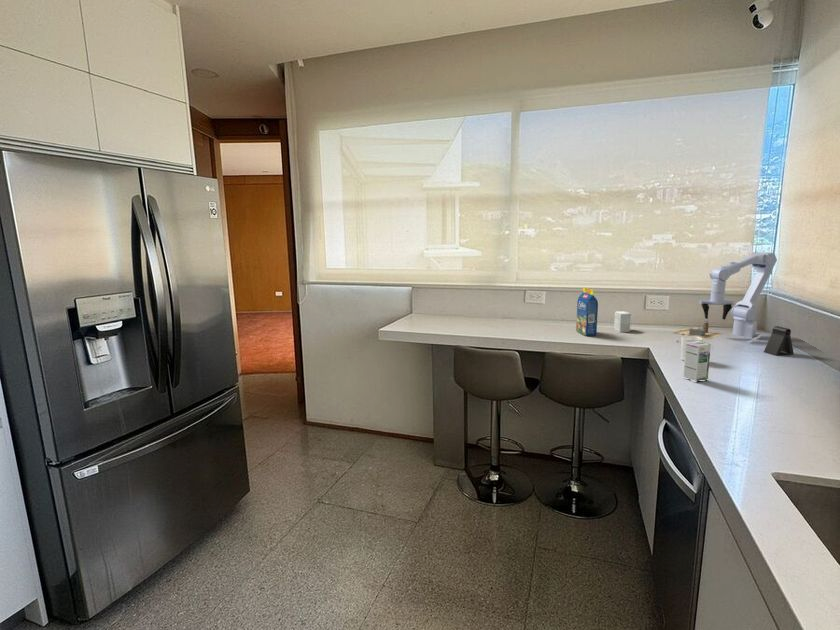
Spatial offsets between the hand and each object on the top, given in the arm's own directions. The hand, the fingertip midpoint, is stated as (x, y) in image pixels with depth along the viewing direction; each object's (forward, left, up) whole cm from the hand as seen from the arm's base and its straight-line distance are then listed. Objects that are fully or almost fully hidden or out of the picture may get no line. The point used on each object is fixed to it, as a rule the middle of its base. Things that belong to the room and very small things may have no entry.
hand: (714, 318), depth 223 cm
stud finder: (+7, +1, -9) cm, 12 cm away
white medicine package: (-7, +48, -11) cm, 50 cm away
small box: (+40, +15, -11) cm, 44 cm away
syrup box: (-18, +73, -11) cm, 76 cm away
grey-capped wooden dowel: (+6, -7, -9) cm, 13 cm away
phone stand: (-29, +9, -11) cm, 32 cm away
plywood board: (+8, -2, -10) cm, 13 cm away
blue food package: (+50, +35, -11) cm, 62 cm away
